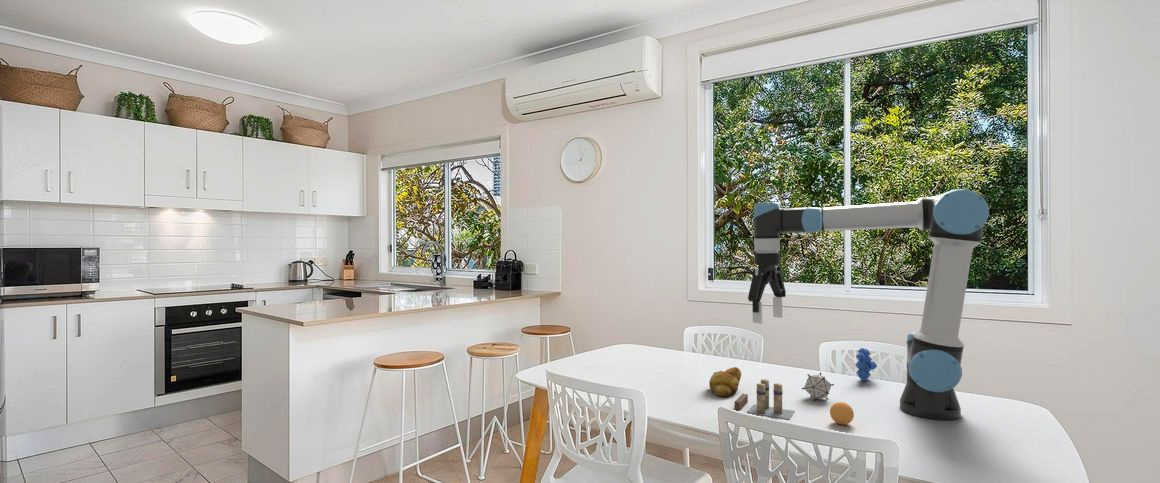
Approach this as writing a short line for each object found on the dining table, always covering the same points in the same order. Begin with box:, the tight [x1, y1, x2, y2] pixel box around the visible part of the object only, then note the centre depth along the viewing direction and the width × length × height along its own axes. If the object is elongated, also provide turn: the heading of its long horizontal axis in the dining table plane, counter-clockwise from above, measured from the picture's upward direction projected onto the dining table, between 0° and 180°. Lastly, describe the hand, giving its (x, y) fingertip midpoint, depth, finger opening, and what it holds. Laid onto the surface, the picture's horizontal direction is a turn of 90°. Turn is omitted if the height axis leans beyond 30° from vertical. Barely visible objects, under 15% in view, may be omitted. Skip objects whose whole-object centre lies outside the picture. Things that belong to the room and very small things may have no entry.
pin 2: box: [760, 379, 770, 409], centre depth 164 cm, size 2×2×8 cm
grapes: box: [854, 347, 878, 382], centre depth 191 cm, size 12×7×12 cm, turn 139°
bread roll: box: [708, 366, 742, 397], centre depth 180 cm, size 13×10×8 cm
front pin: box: [772, 383, 784, 414], centre depth 159 cm, size 2×2×8 cm
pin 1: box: [755, 382, 765, 414], centre depth 160 cm, size 2×2×8 cm
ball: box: [829, 401, 855, 425], centre depth 151 cm, size 6×6×6 cm
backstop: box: [734, 393, 749, 412], centre depth 166 cm, size 2×9×2 cm, turn 148°
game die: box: [801, 372, 835, 402], centre depth 172 cm, size 9×8×10 cm
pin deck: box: [746, 404, 796, 421], centre depth 161 cm, size 12×8×1 cm, turn 58°
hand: (767, 320), depth 169 cm, fingers open, 13 cm apart
